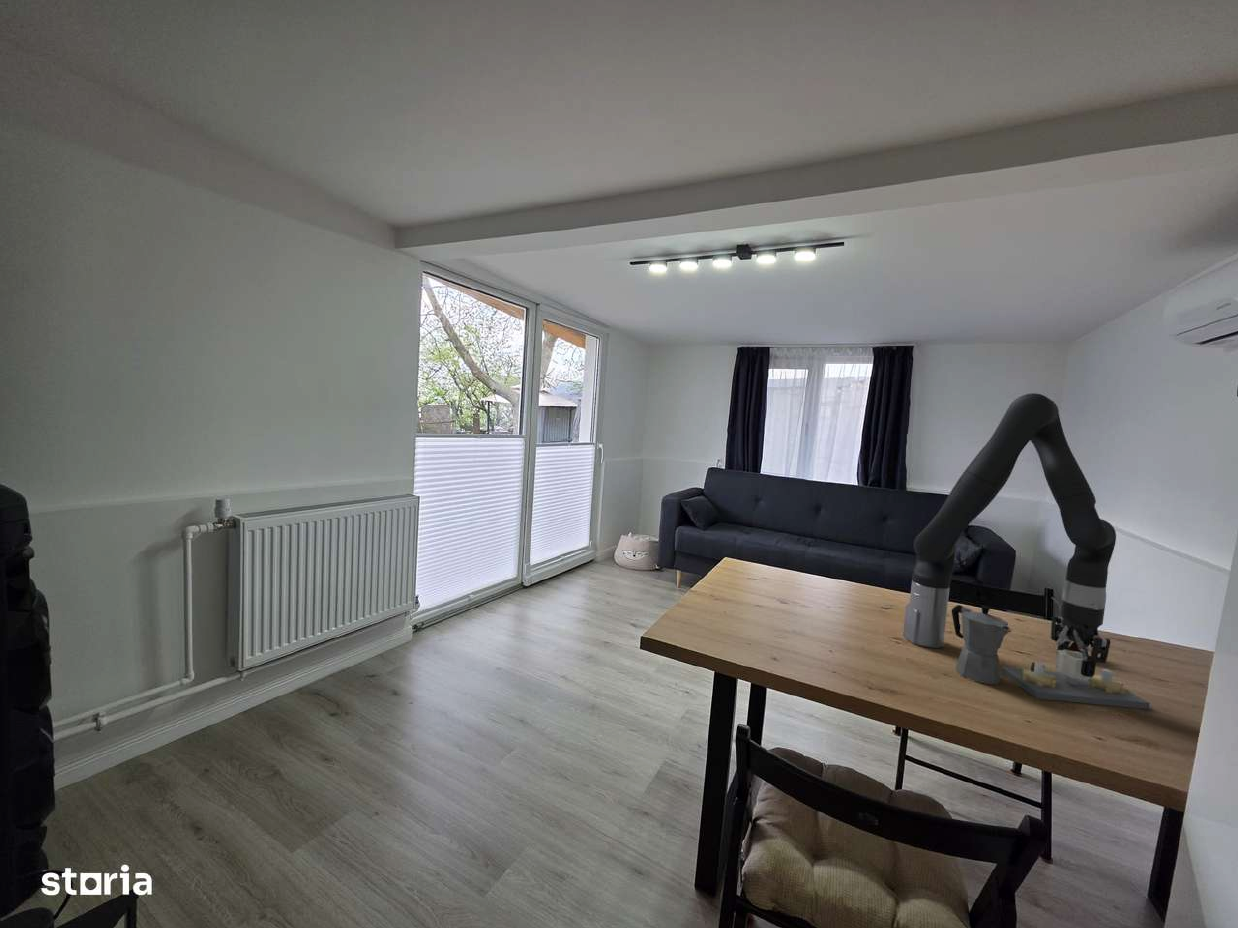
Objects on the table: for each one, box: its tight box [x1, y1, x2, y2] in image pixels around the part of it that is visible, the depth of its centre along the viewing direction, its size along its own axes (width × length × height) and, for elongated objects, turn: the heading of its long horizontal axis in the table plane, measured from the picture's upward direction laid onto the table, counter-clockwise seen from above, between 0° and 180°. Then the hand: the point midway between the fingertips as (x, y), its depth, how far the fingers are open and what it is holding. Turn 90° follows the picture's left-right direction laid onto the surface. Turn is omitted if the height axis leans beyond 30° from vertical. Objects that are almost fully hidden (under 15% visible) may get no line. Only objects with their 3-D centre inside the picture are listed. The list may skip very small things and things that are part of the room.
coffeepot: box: [951, 604, 1012, 685], centre depth 124 cm, size 15×9×18 cm, turn 13°
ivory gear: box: [1055, 649, 1093, 681], centre depth 119 cm, size 7×7×4 cm
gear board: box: [1001, 661, 1151, 710], centre depth 119 cm, size 24×12×6 cm, turn 85°
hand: (1074, 668), depth 119 cm, fingers closed on ivory gear, 6 cm apart
